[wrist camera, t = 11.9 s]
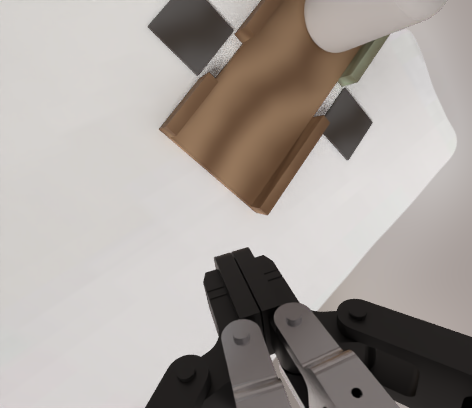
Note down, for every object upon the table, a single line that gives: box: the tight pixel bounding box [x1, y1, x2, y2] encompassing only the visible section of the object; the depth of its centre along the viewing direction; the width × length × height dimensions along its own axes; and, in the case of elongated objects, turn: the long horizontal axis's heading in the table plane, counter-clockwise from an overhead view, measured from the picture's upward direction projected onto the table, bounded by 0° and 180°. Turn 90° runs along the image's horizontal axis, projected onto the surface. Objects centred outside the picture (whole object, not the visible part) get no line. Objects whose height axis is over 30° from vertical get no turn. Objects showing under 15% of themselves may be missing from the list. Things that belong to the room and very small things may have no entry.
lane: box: [148, 0, 390, 215], centre depth 37 cm, size 26×28×4 cm
